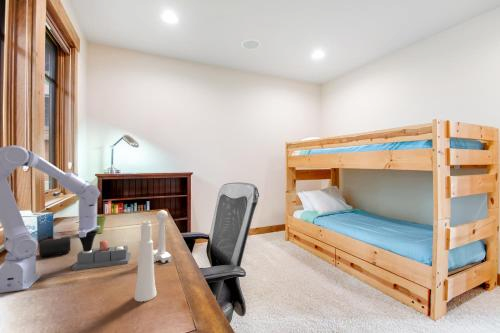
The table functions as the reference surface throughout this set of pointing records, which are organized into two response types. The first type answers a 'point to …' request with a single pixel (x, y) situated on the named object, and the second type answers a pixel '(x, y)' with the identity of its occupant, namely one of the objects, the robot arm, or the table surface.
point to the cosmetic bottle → (145, 266)
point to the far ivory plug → (119, 248)
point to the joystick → (161, 239)
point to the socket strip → (102, 258)
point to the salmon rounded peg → (104, 245)
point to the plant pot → (100, 223)
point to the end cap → (54, 246)
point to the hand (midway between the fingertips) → (87, 250)
